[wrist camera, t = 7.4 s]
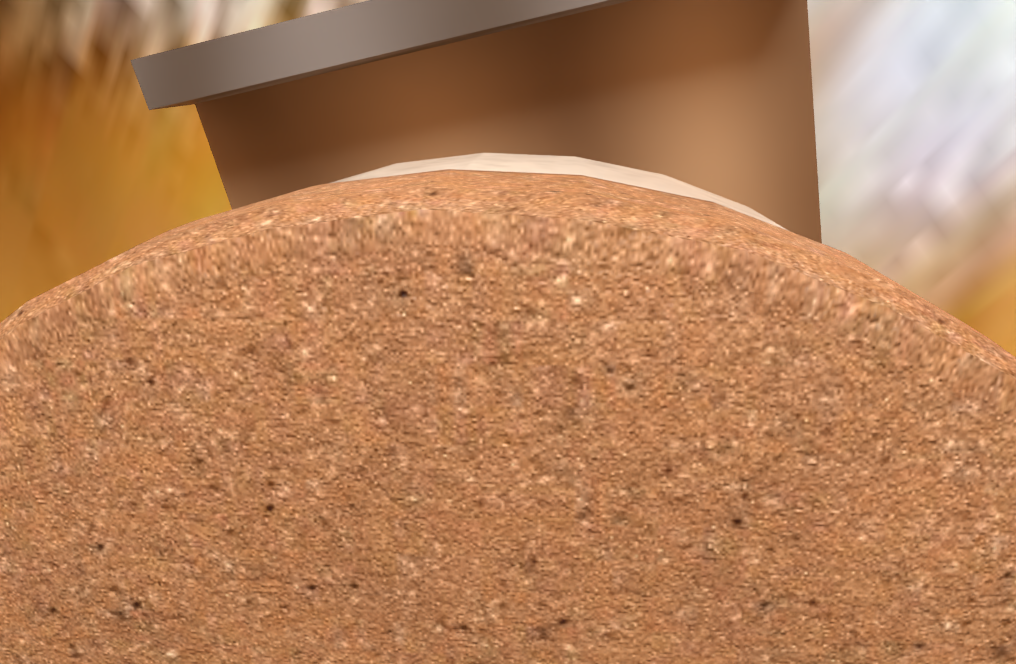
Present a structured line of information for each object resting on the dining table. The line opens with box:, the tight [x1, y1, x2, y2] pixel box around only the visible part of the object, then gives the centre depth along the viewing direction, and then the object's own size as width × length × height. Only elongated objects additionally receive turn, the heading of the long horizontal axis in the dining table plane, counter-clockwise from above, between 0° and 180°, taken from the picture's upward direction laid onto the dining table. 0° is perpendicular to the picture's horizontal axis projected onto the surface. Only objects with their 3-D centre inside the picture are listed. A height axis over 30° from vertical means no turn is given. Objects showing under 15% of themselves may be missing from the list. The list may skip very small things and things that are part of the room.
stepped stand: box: [131, 0, 822, 244], centre depth 23 cm, size 14×22×12 cm, turn 12°
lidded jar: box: [0, 153, 1016, 664], centre depth 8 cm, size 11×11×9 cm
